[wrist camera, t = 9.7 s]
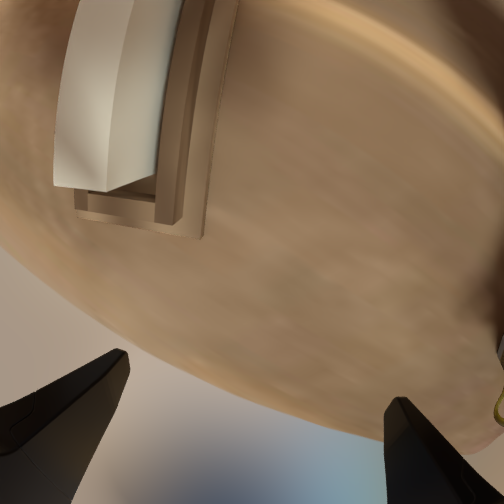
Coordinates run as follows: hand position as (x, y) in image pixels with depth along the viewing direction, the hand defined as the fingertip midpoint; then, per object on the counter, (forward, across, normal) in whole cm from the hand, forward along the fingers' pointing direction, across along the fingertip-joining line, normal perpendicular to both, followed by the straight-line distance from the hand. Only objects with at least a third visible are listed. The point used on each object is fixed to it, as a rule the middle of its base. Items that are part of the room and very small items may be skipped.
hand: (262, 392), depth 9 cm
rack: (+12, +10, -10) cm, 19 cm away
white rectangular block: (+11, +10, -10) cm, 18 cm away
